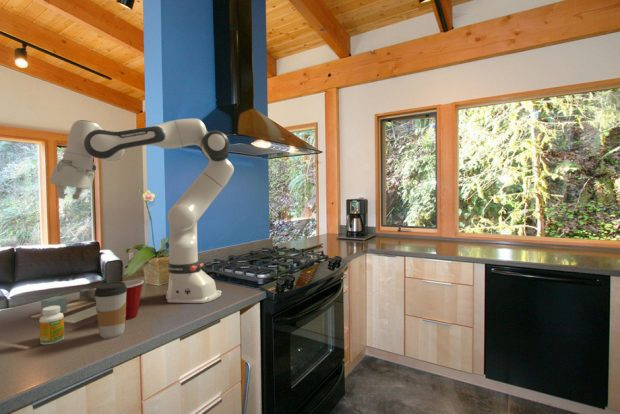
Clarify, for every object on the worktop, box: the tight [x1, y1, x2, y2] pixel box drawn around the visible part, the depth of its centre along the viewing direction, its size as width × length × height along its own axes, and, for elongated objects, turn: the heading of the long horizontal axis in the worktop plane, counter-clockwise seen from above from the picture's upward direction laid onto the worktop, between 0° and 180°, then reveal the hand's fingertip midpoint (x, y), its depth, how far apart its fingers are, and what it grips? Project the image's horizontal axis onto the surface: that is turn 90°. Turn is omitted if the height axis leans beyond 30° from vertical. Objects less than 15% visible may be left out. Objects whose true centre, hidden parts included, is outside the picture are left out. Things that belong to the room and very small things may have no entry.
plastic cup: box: [123, 279, 145, 321], centre depth 106 cm, size 11×11×12 cm
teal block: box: [40, 295, 68, 315], centre depth 109 cm, size 5×5×5 cm
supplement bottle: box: [38, 306, 65, 346], centre depth 89 cm, size 5×5×10 cm
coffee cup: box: [94, 281, 127, 339], centre depth 93 cm, size 8×8×15 cm
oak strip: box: [30, 288, 96, 319], centre depth 114 cm, size 8×20×5 cm, turn 164°
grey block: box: [64, 305, 97, 324], centre depth 111 cm, size 8×20×5 cm, turn 164°
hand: (68, 198), depth 114 cm, fingers open, 8 cm apart
